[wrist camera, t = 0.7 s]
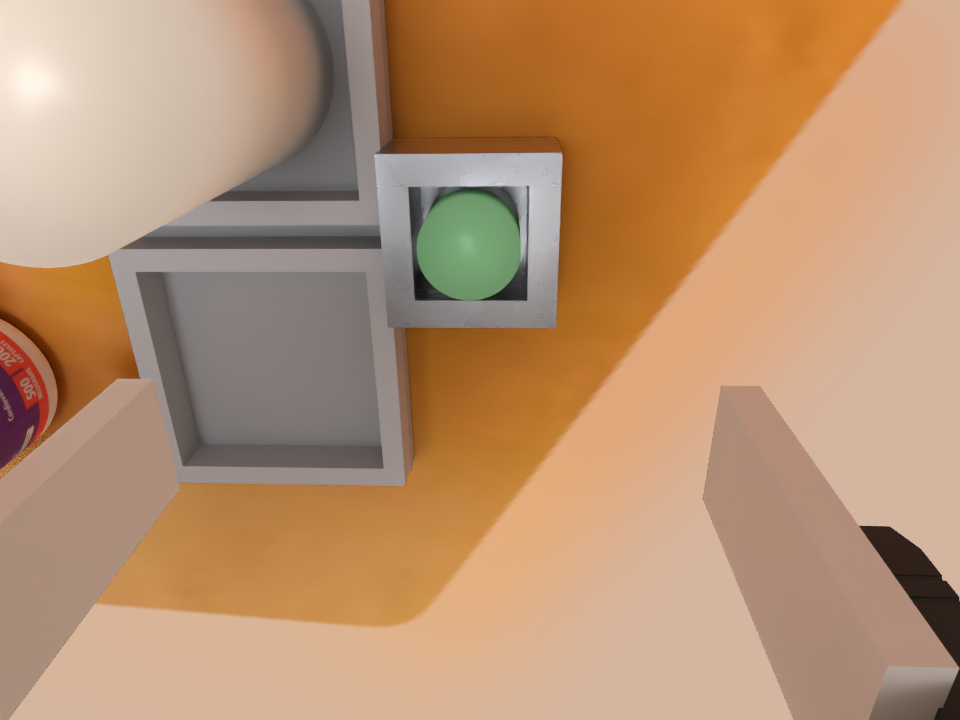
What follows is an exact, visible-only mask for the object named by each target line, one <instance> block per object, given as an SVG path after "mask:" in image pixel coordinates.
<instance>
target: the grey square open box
mask: <svg viewBox="0 0 960 720" xmlns="http://www.w3.org/2000/svg"><path fill="white" fill-rule="evenodd" d="M562 156H563V153H562V150H561V148H560V146H559V144H558V142H557V139H556V137H483V138H393V139H392V140H391V141H389V142H388V143H387V144H386V145H385V146H383V147H382V148H381V149H380V150H379V151H378V152H376V153H375V154H374V159H375V171H376V184H377V197H378V209H379V222H380V235H381V248H382V260H383V273H384V286H385V298H386V311H387V324H388V328H556V314H557V288H558V262H559V235H560V209H561V183H562ZM451 186H499V187H501V188H502V189H503V190H504V191H505V192H506V193H507V194H508V195H509V196H510V197H511V199H512V200H513V202H514V204H515V206H516V208H517V211H518V214H519V221H520V242H521V257H520V262H519V266H518V268H517V271H516V273H515V275H514V277H513V278H512V279H511V281H510V282H509V283H508V284H507V285H506V286H505V287H504V288H503V289H502V290H501V291H499V292H498V293H496V294H494V295H492V296H490V297H487V298H484V299H480V300H470V301H469V300H460V299H455V298H452V297H449V296H447V295H445V294H443V293H442V292H440V291H438V290H437V289H436V288H435V287H433V286H432V284H431V283H430V282H429V281H428V280H427V279H426V277H425V276H424V274H423V272H422V270H421V268H420V266H419V262H418V258H417V239H418V235H419V232H420V230H421V227H422V225H423V223H424V221H425V219H426V217H427V215H428V213H429V210H430V208H431V206H432V204H433V202H434V201H435V199H436V197H437V196H438V195H439V194H440V193H441V192H442V191H443V190H444V189H445V188H446V187H451Z"/></svg>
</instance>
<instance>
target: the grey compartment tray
mask: <svg viewBox="0 0 960 720" xmlns="http://www.w3.org/2000/svg"><path fill="white" fill-rule="evenodd" d="M309 1H310V2H311V4H312V5H313V7H314V8H315V10H316V12H317V14H318V16H319V18H320V19H321V21H322V24H323V26H324V29H325V31H326V33H327V36H328V40H329V43H330V47H331V51H332V57H333V64H334V86H333V94H332V99H331V104H330V107H329V110H328V113H327V116H326V118H325V120H324V122H323V124H322V126H321V128H320V129H319V131H318V132H317V134H316V135H315V137H314V138H313V139H312V140H311V141H310V142H309V143H308V144H307V145H306V146H305V147H304V148H303V149H302V150H300V151H299V152H298V153H297V154H295V155H293V156H292V157H290V158H288V159H286V160H285V161H283V162H281V163H279V164H277V165H275V166H273V167H271V168H270V169H268V170H266V171H264V172H262V173H260V174H258V175H256V176H255V177H253V178H251V179H249V180H247V181H245V182H243V183H242V184H240V185H238V186H236V187H234V188H232V189H230V190H228V191H227V192H225V193H223V194H221V195H219V196H217V197H215V198H213V199H212V200H210V201H208V202H206V203H204V204H202V205H200V206H199V207H197V208H195V209H193V210H191V211H189V212H187V213H185V214H184V215H182V216H180V217H178V218H176V219H174V220H172V221H170V222H169V223H167V224H165V225H163V226H161V227H159V228H157V229H156V230H154V231H152V232H150V233H148V234H146V235H144V236H142V237H141V238H139V239H137V240H135V241H133V242H131V243H129V244H127V245H126V246H124V247H122V248H120V249H118V250H116V251H114V252H113V253H111V254H109V255H108V256H109V260H110V264H111V268H112V272H113V276H114V280H115V283H116V287H117V291H118V295H119V299H120V303H121V307H122V310H123V314H124V318H125V322H126V326H127V330H128V334H129V337H130V341H131V345H132V349H133V353H134V357H135V361H136V364H137V368H138V372H139V376H140V379H154V383H155V387H156V392H157V396H158V400H159V404H160V408H161V412H162V416H163V420H164V424H165V428H166V432H167V436H168V440H169V444H170V448H171V452H172V456H173V460H174V464H175V469H176V473H177V477H178V481H179V483H232V484H303V485H373V486H406V481H407V477H408V473H409V471H412V466H413V462H414V444H413V429H412V414H411V399H410V384H409V369H408V353H407V338H406V328H388V324H387V311H386V298H385V286H384V273H383V260H382V248H381V235H380V222H379V209H378V197H377V184H376V171H375V159H374V154H375V153H376V152H378V151H379V150H380V149H381V148H382V147H383V146H385V145H386V144H387V143H388V142H389V141H391V140H392V139H393V127H392V111H391V96H390V81H389V66H388V51H387V36H386V21H385V6H384V0H309Z"/></svg>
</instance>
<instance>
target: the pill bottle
mask: <svg viewBox="0 0 960 720" xmlns="http://www.w3.org/2000/svg"><path fill="white" fill-rule="evenodd" d="M57 400H58V392H57V385H56V381H55V377H54V374H53V371H52V369H51V367H50V365H49V363H48V361H47V359H46V358H45V356H44V355H43V354H42V352H41V351H40V350H39V349H38V347H37V346H36V345H35V344H34V343H33V342H32V341H31V340H30V339H29V338H28V337H27V336H26V335H25V334H23V333H22V332H21V331H19V330H18V329H17V328H15V327H14V326H12V325H11V324H9V323H7V322H5V321H4V320H2V319H0V469H1V468H2V467H4V466H5V465H6V464H7V463H8V462H10V461H11V460H12V459H13V458H14V457H16V456H17V455H18V454H19V453H21V452H22V451H23V450H24V449H26V448H27V447H28V446H30V445H31V444H32V443H33V442H34V441H35V440H36V439H37V438H39V437H40V436H41V435H42V434H43V433H44V432H45V431H46V429H47V428H48V427H49V425H50V423H51V421H52V419H53V417H54V414H55V411H56V408H57Z"/></svg>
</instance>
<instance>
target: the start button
mask: <svg viewBox="0 0 960 720" xmlns="http://www.w3.org/2000/svg"><path fill="white" fill-rule="evenodd" d="M520 257H521V242H520V221H519V214H518V211H517V208H516V206H515V204H514V202H513V200H512V199H511V197H510V196H509V195H508V194H507V193H506V192H505V191H504V190H503V189H502V188H501V187H499V186H451V187H446V188H445V189H444V190H443V191H442V192H441V193H440V194H439V195H438V196H437V197H436V199H435V201H434V202H433V204H432V206H431V208H430V210H429V213H428V215H427V217H426V219H425V221H424V223H423V225H422V227H421V230H420V232H419V235H418V239H417V258H418V262H419V266H420V268H421V270H422V272H423V274H424V276H425V277H426V279H427V280H428V281H429V282H430V283H431V284H432V286H433V287H435V288H436V289H437V290H438V291H440V292H442V293H443V294H445V295H447V296H449V297H452V298H455V299H460V300H469V301H470V300H480V299H484V298H487V297H490V296H492V295H494V294H496V293H498V292H499V291H501V290H502V289H503V288H504V287H505V286H506V285H507V284H508V283H509V282H510V281H511V279H512V278H513V277H514V275H515V273H516V271H517V268H518V266H519V262H520Z"/></svg>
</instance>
